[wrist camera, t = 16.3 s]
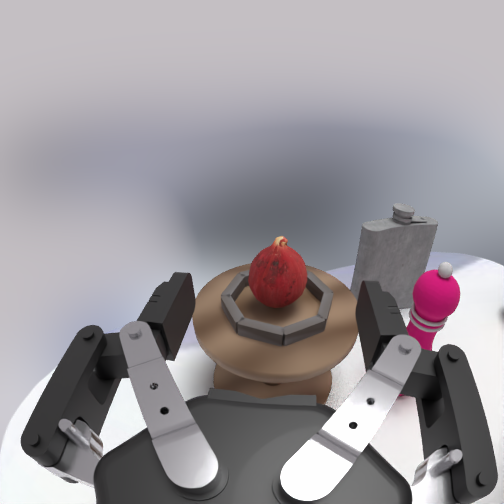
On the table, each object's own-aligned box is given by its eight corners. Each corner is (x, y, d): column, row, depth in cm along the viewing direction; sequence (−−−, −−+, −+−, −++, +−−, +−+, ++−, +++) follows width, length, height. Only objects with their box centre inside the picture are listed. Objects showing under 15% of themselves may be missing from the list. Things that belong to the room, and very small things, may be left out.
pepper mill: (415, 403, 32) (480, 288, 22) (369, 392, 35) (418, 272, 25) (419, 367, 37) (469, 255, 28) (378, 357, 40) (417, 241, 30)
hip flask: (349, 325, 47) (372, 215, 37) (339, 310, 50) (357, 204, 41) (416, 305, 50) (444, 210, 40) (404, 294, 54) (429, 201, 44)
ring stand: (361, 401, 34) (398, 318, 26) (236, 458, 27) (225, 391, 20) (296, 323, 48) (305, 240, 40) (192, 355, 42) (174, 270, 34)
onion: (295, 330, 28) (302, 259, 24) (240, 316, 29) (237, 247, 25) (309, 295, 32) (316, 230, 28) (260, 285, 34) (260, 221, 30)
